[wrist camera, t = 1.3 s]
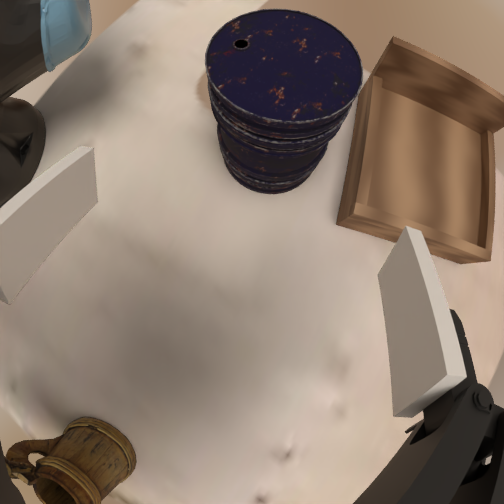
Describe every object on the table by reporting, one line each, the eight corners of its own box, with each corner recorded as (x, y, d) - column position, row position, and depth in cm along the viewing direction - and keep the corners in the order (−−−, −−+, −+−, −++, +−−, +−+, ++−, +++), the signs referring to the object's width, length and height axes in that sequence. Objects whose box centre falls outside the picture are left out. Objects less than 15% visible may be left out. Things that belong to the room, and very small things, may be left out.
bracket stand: (335, 224, 30) (379, 197, 19) (358, 94, 32) (392, 36, 21) (460, 264, 30) (527, 257, 19) (468, 142, 32) (520, 107, 21)
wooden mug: (53, 377, 29) (-57, 427, 11) (148, 449, 28) (84, 556, 10) (34, 423, 28) (-56, 479, 10) (119, 489, 28) (61, 582, 10)
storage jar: (329, 128, 31) (376, 38, 16) (300, 210, 31) (345, 151, 16) (242, 97, 32) (239, -5, 17) (205, 174, 31) (173, 94, 16)
